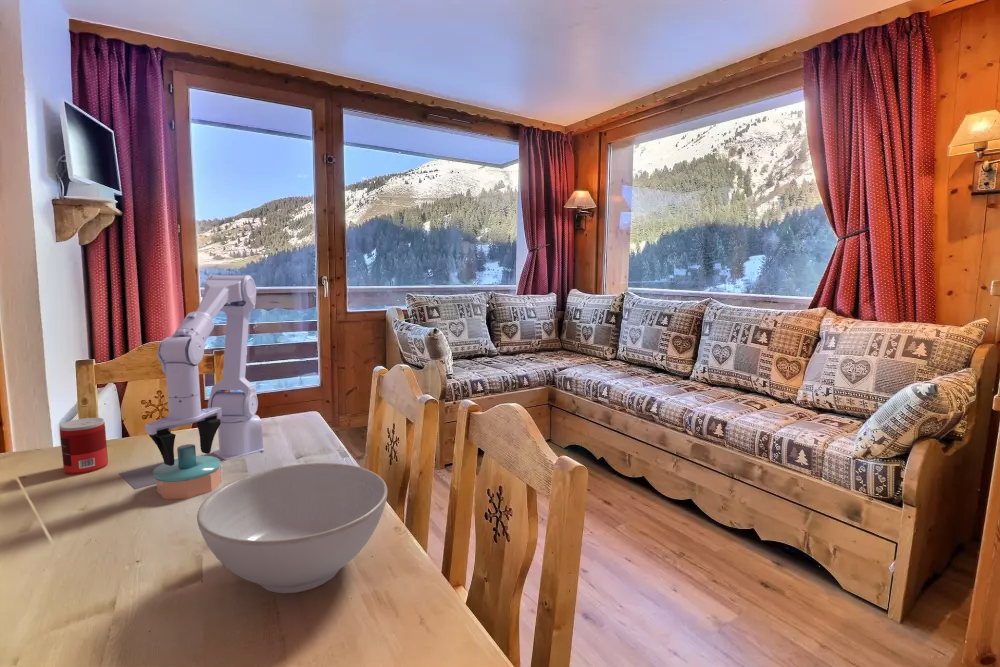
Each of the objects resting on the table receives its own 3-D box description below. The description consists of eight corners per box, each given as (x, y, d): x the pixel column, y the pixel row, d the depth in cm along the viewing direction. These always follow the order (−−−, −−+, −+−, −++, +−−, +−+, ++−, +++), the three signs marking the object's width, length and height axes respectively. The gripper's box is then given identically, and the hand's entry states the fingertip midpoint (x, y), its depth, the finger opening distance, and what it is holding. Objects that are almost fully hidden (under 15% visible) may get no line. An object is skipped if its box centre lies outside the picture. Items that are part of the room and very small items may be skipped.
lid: (198, 455, 117) (197, 434, 116) (232, 466, 111) (231, 443, 110) (140, 474, 106) (138, 450, 105) (175, 486, 101) (173, 461, 100)
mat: (179, 460, 124) (179, 458, 124) (198, 473, 116) (198, 472, 116) (118, 474, 115) (118, 473, 115) (135, 490, 107) (134, 489, 107)
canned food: (116, 463, 122) (112, 418, 120) (86, 477, 114) (82, 428, 112) (86, 461, 122) (82, 416, 121) (54, 475, 114) (49, 427, 113)
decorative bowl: (212, 543, 88) (208, 475, 86) (373, 515, 99) (371, 454, 97) (188, 651, 64) (182, 559, 62) (405, 599, 74) (404, 519, 73)
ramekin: (207, 474, 116) (206, 456, 116) (227, 488, 109) (226, 469, 109) (152, 489, 108) (151, 470, 108) (170, 505, 101) (168, 485, 101)
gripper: (206, 385, 114) (209, 444, 116) (134, 399, 102) (139, 466, 104) (226, 389, 111) (229, 450, 113) (155, 404, 98) (160, 473, 100)
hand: (188, 458), depth 108 cm, fingers open, 7 cm apart
